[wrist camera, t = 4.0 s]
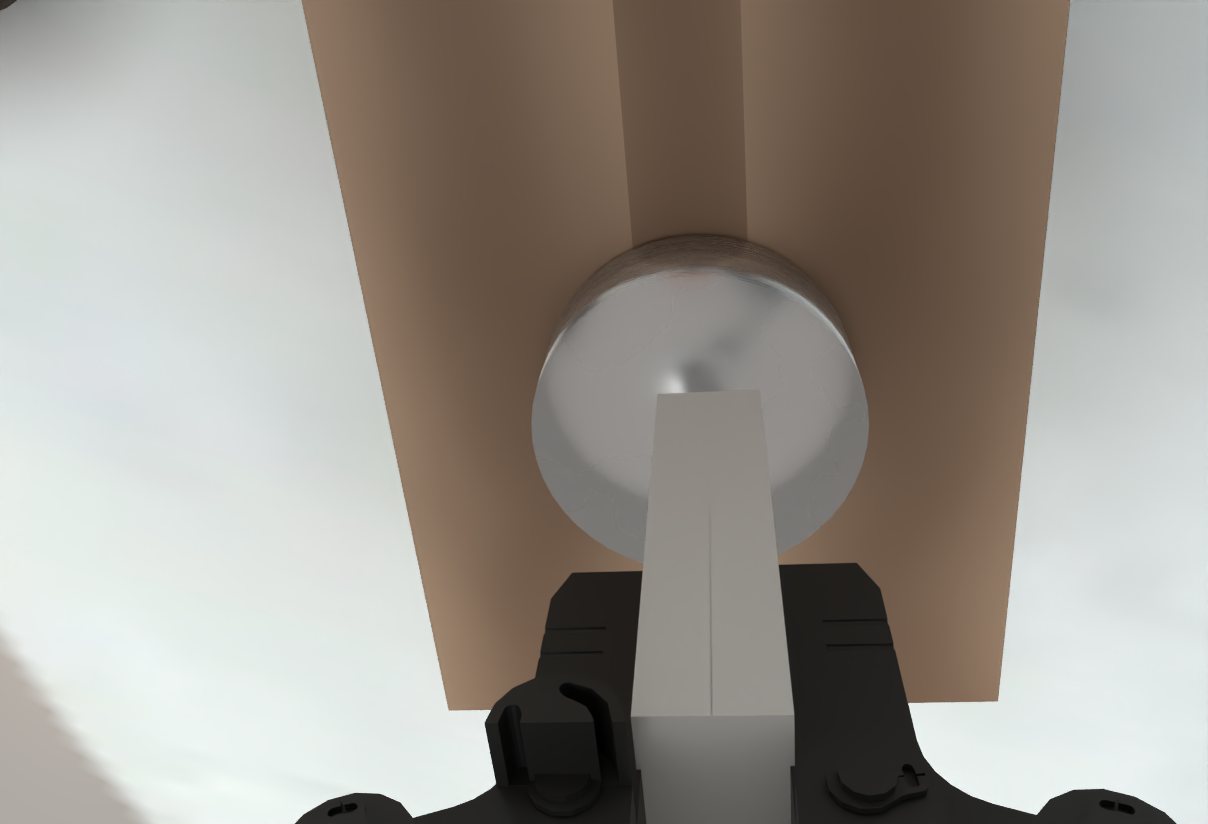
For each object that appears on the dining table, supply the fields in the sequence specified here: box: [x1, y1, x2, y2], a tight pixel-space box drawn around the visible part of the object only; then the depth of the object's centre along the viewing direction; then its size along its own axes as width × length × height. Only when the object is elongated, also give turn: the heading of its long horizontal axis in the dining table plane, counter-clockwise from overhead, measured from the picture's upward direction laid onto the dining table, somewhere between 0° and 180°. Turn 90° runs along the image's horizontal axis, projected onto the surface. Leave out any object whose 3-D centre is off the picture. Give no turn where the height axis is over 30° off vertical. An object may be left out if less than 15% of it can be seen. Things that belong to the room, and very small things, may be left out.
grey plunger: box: [531, 236, 869, 563], centre depth 21 cm, size 6×6×8 cm
